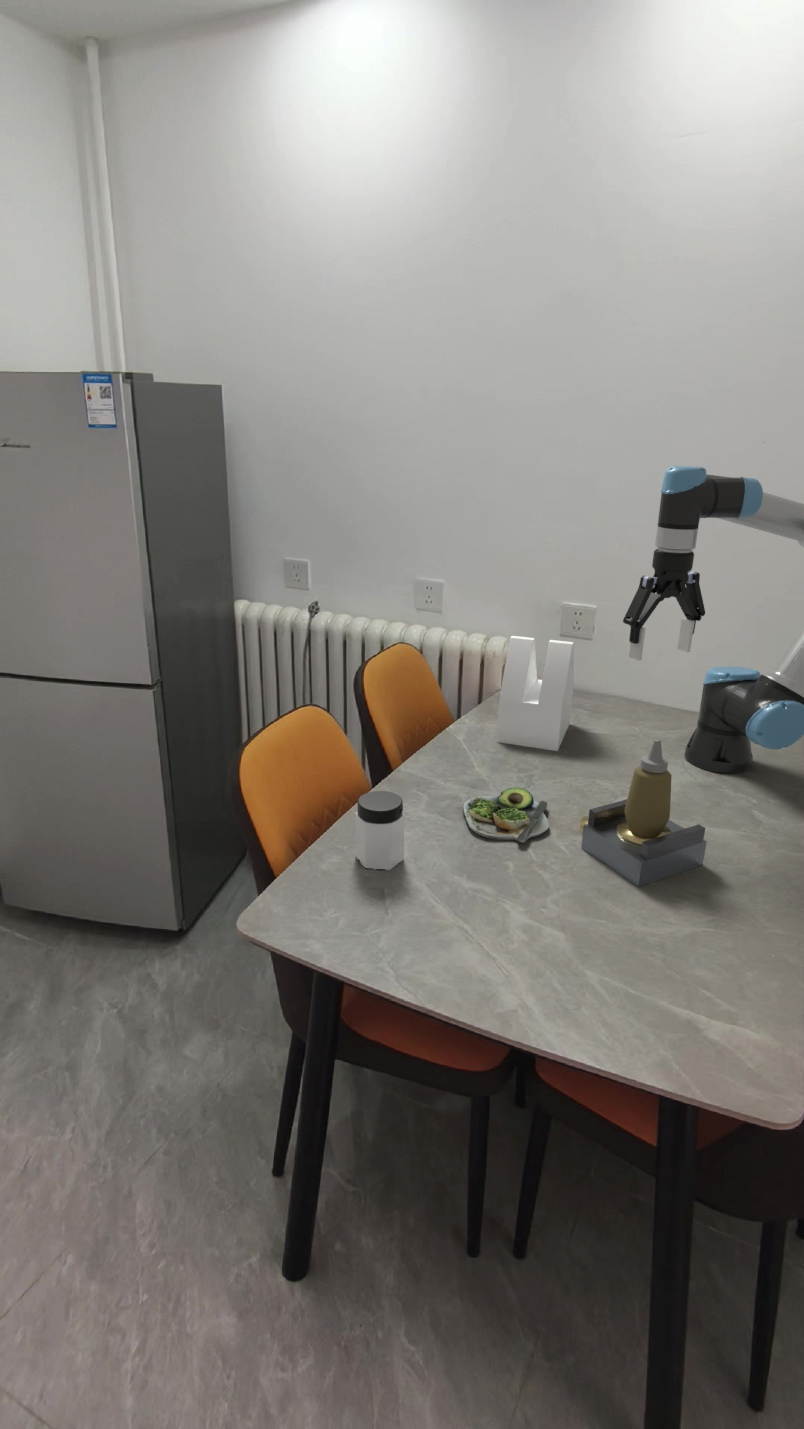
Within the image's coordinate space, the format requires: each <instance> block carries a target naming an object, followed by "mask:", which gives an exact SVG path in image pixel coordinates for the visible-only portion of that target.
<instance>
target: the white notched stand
mask: <svg viewBox="0 0 804 1429" xmlns="http://www.w3.org/2000/svg"><path fill="white" fill-rule="evenodd" d="M508 644H509V645H508V649H507V654H506V658H505V659H506V660H505V666H504V670H503V671H504V672H503V675H502V682H501V688H500V693H499V698H498V713H497V724H496V726H497V727H496V741H495V742H496V743H501V744H508V745H516V746H522V747H528V748H533V749H540V750H541V749H543V750H548V751H554V752H555V751H556V752H559V749H560V747H561V744H562V743H563V739H564V738H565V735H566V732H568V729H569V726H570V723H571V722H570V720H571V714H572V702H573V695H574V694H573V692H574V691H573V690H574V680H575V679H574V677H575V675H574V673H575V672H574V670H575V669H574V663H575V662H574V660H575V659H574V658H575V657H574V648H575V647H574V645H575V644H574V641H564V640H558V639H557V640H555V639H550V640H549V641H548V644H547V651H546V655H545V656H546V657H545V662H544V668H543V674H542V679H538V674H537V673H538V672H537V655H536V654H537V653H536V638H535V637H528V636H519V635H517V636H516V635H511V636H510V639H509V643H508Z"/></svg>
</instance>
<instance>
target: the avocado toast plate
mask: <svg viewBox="0 0 804 1429" xmlns="http://www.w3.org/2000/svg"><path fill="white" fill-rule="evenodd" d="M547 807H548V802H547V801H545V800H541V801H536V800H534V796H533V795H532V793H531V792H530V791H529V790H528V789H525V788H522V787H509V788H506V789H504V790H503V791H501V792H500V794H499V795H498V796H494V795H493V796H492V795H491V796H490V795H489V796H488V795H478V796H473V797H470V798H469V799H467V800H466V801H465V802H464V803H463V806H462V813H463V815H464V817H465V820H466V823H467V824H468V826H469V829H471V831H473V832H474V833H476V834H477V835H478V836H479V835H480V836H482V837H483V838H484V837H485V838H486V839H490V840H496V841H516V842H518V843H519V844H520V843H521V844H524V843H527V840H528V839H530V838H533V837H537V836H540V835H542V834H543V833H545V832H547V831H548V830H549V826H550V824H549V820H548V819H547V817H546V814H545V813H544V812H545V810H546V809H547ZM476 820H477V821H479V822H483V823H489V824H492V825H494V826H496V829H497V830H498V831H497V832H490V831H487V830H485V829H483V828H481V826H479V824H477V821H476Z"/></svg>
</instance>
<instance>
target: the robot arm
mask: <svg viewBox="0 0 804 1429" xmlns="http://www.w3.org/2000/svg"><path fill="white" fill-rule="evenodd" d="M660 493H661V494H660V495H661V496H660V504H659V511H658V519H657V527H656V536H655V541H654V542H655V544H654V546H655V547H656V549H655V550H654V551H653V556H652V557H653V558H652V564H651V565H652V569H654V573H653V576H649V575H648V576H647V575H642V576H641V577H640V580H639V586H638V588H637V590H636V592H635V594H634V596H633V598H632V600H631V603H630V604H629V606H628V609H627V611H626V613H625V615H624V617H623V619H622V623H623V624H625V625H627V626H630V632H629V640H628V641H629V643H630V645H629V652H628V653H629V654H628V657H629V658H632V659H634V660H636V661H642V658H643V651H644V650H643V649H644V643H645V642H644V641H645V634H646V627H644V624H646V622H647V621H648V619H649V618H650V617H651V615H652V614H653V613H654V611H655V610H656V608H657V606H658V605H659V604H660V602H663V601H664V600H665V599H669V598H671V597H672V598H675V599H676V602H677V604H678V605H679V607H680V609H681V611H682V612H683V615H684V616H685V617H683V618H681V622H680V628H679V629H680V630H679V636H678V642H677V643H678V644H677V649H678V650H679V651H683V652H685V653H689V652H691V647H692V642H693V635H694V633H695V629H696V624H697V622H700V621H701V620H702V617H704V616H705V615H706V610H705V604H704V600H703V595H702V591H701V586H700V575H701V574H700V572H696V571H692V569H693V565H694V559H695V553H694V551H693V550H695V549H696V546H697V539H698V533H699V524H700V519H707V518H712V519H713V518H714V519H719V520H723V521H726V522H730V523H733V524H734V523H735V524H737V525H740V526H744V527H749V528H752V529H755V530H758V531H762V532H764V533H765V532H766V533H768V534H773V535H776V536H780V537H784V538H788V539H791V540H795V541H797V542H798V545H799V546H800V547H803V548H804V503H801V502H798V501H795V500H791V499H788V498H785V497H782V496H778V495H775V494H771V493H767V492H764V490H763V486H762V484H761V482H760V481H759V480H758V479H757V478H754V477H745V476H741V477H732V476H731V477H730V476H722V475H715V474H707V469H706V468H705V467H704V466H703V467H702V466H689V465H687V466H686V465H673V466H670V467H668V468H667V469H666V470H665V472H664V476H663V481H662V485H661V489H660ZM702 685H703V687H702V691H701V700H700V705H699V711H698V719H697V723H696V724H697V725H696V727H695V729H694V731H693V733H692V734H691V736H690V738H689V740H688V743H687V744H686V745H685V750H684V758H685V760H686V761H688V762H689V763H690V764H692V765H693V766H695V767H697V768H700V769H703V770H706V771H710V772H715V773H722V774H739V773H743V772H747V771H749V770H750V769H751V768H752V763H753V758H754V756H753V753H752V745H751V743H752V742H753V743H754V745H755V744H756V745H758V746H761V747H763V748H765V749H768V750H781V749H783V748H788V747H790V746H793V745H794V744H795V743H797V742H798V741H799V740H801V738H802V737H803V736H804V625H803V627H801V629H800V631H799V632H798V633H797V635H796V636H795V638H794V639H793V641H792V642H791V643H790V645H789V646H788V648H787V650H786V651H785V652H784V654H783V656H781V658H780V660H779V661H778V663H776V665H775V667H774V668H773V669H772V670H770V671H765V672H762V673H760V672H759V671H758V670H757V669H753V668H748V667H743V666H715V667H711V668H710V669H708V670H707V671H706V674H705V676H704V679H703V683H702Z"/></svg>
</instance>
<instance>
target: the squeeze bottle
mask: <svg viewBox="0 0 804 1429" xmlns="http://www.w3.org/2000/svg"><path fill="white" fill-rule="evenodd" d="M668 766H669V761H668V759H667V758H665V757H663V751H662V740H661V739H654V740H653V743H652V745H651V747H650V750H649V753H648V754H646V755H642V756H641V759H640V766H637V767H635V768H634V771H633V776H632V778H631V779H632V780H631V783H630V787H629V790H628V795H627V798H626V799H627V802H626V806H625V810H624V811H625V816H626V820H627V824H628V828H629V830H630V831H631V832H632V833H634V834H636V835H638V836H642V837H657V836H659V835H660V834H661V833H662V831H663V829H664V827H665V826H666V824H667V822H668V820H670V816H671V797H672V776H673V775H672V774H671V772H670V771H669V770H668Z"/></svg>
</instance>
